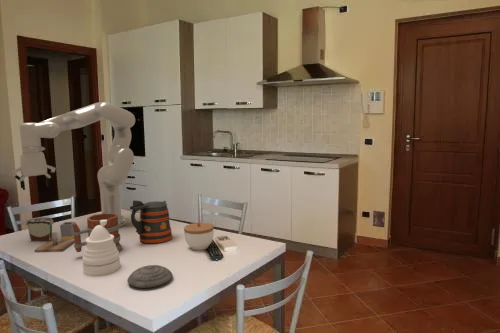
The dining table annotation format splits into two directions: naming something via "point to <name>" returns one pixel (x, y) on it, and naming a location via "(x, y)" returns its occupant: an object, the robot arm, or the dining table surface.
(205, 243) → the lidded bowl
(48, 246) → the pin board
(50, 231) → the food container
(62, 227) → the sleeve
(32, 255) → the dining table surface
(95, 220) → the mug
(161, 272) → the flying saucer
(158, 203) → the beer stein
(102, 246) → the honey pot
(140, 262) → the dining table surface
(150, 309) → the dining table surface
